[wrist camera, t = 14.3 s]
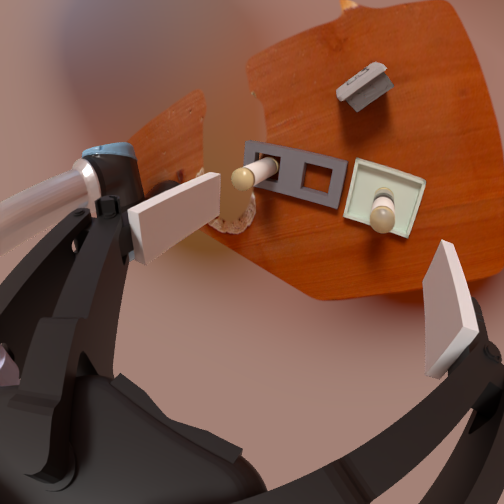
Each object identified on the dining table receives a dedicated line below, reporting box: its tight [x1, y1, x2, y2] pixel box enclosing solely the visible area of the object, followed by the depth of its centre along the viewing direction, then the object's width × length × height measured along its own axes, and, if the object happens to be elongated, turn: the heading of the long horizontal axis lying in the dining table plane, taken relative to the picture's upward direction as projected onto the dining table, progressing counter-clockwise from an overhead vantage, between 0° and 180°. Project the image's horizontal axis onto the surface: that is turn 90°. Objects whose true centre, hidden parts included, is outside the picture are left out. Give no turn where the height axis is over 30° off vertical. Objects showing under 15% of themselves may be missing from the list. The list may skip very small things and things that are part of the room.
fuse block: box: [243, 140, 348, 209], centre depth 50 cm, size 20×9×2 cm, turn 84°
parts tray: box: [343, 158, 426, 238], centre depth 44 cm, size 13×11×2 cm
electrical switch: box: [336, 62, 394, 112], centre depth 34 cm, size 9×5×9 cm, turn 132°
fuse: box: [231, 156, 279, 191], centre depth 48 cm, size 4×4×12 cm
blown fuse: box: [370, 187, 395, 233], centre depth 40 cm, size 4×4×12 cm
